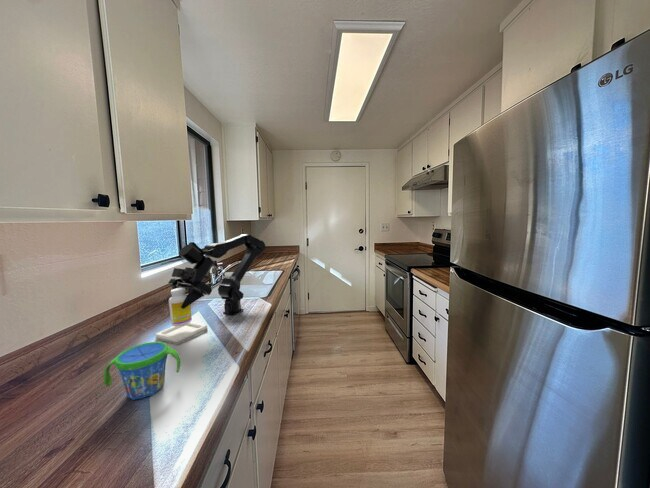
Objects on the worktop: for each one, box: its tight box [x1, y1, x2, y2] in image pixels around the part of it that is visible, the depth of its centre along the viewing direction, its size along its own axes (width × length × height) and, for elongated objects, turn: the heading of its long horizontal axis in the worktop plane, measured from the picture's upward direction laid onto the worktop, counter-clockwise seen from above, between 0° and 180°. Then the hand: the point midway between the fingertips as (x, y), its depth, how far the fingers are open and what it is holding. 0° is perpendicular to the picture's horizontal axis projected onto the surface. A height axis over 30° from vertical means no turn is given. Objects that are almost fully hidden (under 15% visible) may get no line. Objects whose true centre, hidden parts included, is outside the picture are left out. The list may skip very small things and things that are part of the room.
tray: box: [155, 321, 208, 346], centre depth 93 cm, size 12×12×2 cm
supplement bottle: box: [168, 288, 193, 327], centre depth 92 cm, size 7×7×13 cm
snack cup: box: [103, 341, 181, 401], centre depth 62 cm, size 16×10×10 cm
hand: (176, 307), depth 91 cm, fingers closed on supplement bottle, 7 cm apart
